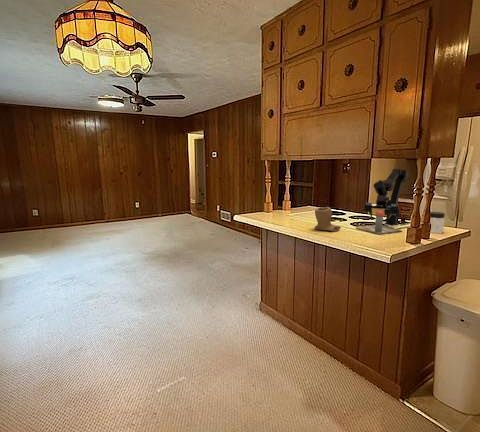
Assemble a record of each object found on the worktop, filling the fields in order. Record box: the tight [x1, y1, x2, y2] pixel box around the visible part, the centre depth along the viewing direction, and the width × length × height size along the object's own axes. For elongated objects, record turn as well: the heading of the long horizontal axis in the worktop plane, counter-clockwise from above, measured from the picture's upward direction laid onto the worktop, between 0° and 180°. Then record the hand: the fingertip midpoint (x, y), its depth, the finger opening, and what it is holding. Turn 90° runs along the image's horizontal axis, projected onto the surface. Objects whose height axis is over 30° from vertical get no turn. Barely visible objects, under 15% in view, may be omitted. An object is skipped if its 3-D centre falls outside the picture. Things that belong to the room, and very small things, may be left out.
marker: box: [374, 210, 385, 232], centre depth 180 cm, size 4×4×12 cm
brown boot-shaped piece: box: [314, 206, 342, 232], centre depth 189 cm, size 15×12×15 cm
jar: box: [430, 211, 446, 234], centre depth 182 cm, size 9×8×12 cm
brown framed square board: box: [355, 224, 403, 236], centre depth 189 cm, size 19×19×2 cm
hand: (379, 218), depth 182 cm, fingers open, 9 cm apart
